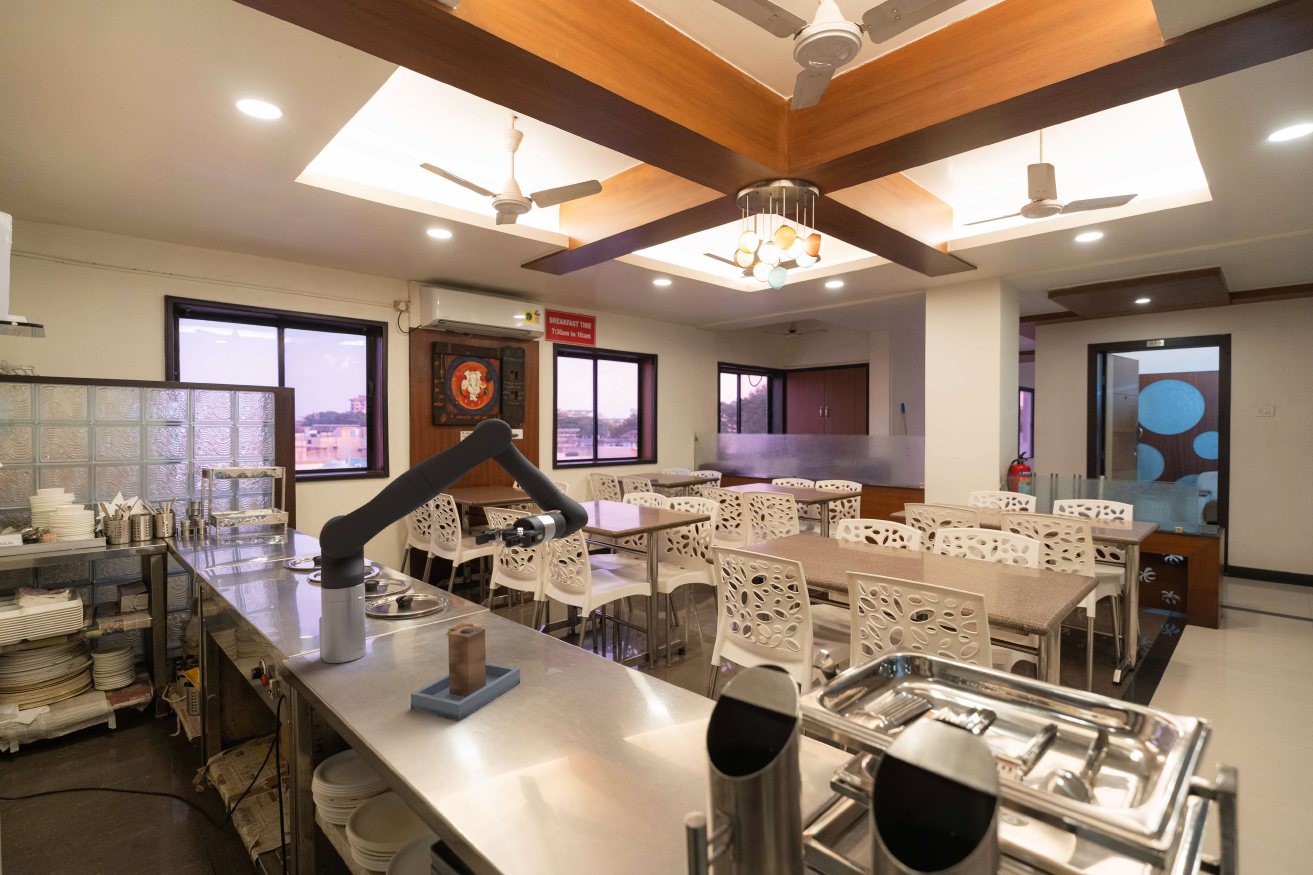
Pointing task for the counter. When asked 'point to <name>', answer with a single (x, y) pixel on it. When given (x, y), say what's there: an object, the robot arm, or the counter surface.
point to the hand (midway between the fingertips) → (491, 541)
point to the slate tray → (459, 707)
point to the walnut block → (467, 661)
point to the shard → (463, 626)
